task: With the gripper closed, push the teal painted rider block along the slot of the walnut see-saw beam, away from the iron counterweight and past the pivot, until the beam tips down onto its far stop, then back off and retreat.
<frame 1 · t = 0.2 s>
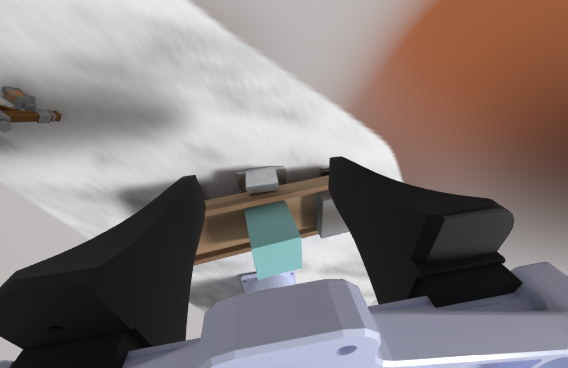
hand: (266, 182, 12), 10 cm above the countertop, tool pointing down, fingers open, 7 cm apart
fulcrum: (264, 199, 25), on the countertop
rider: (266, 219, 22), point 3 cm above the countertop, tilted 7°, touching beam
beam: (268, 219, 22), point 3 cm above the countertop, hinge at 7.0°, touching rider
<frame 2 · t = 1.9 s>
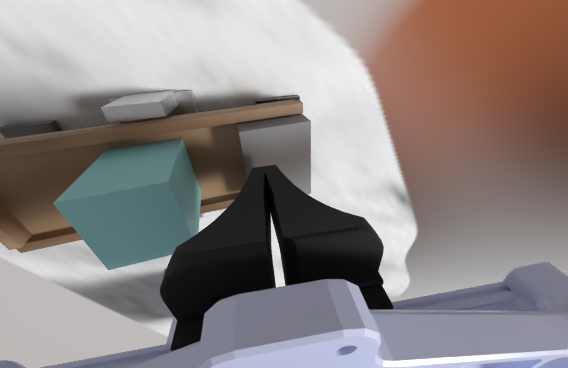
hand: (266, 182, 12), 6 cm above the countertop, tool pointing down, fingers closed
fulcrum: (174, 150, 16), on the countertop
rider: (159, 173, 14), point 3 cm above the countertop, tilted 7°, touching beam
beam: (162, 173, 14), point 3 cm above the countertop, hinge at 7.0°, touching rider
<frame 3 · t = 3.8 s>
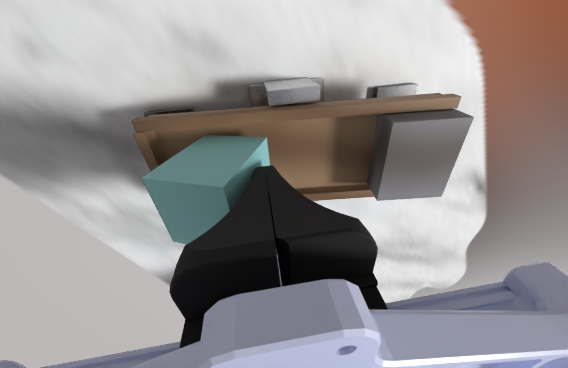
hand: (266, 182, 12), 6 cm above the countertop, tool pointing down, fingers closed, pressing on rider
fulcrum: (289, 137, 17), on the countertop
rider: (240, 165, 14), point 4 cm above the countertop, tilted 24°, touching beam, gripper
beam: (294, 156, 14), point 3 cm above the countertop, hinge at -7.4°, touching rider
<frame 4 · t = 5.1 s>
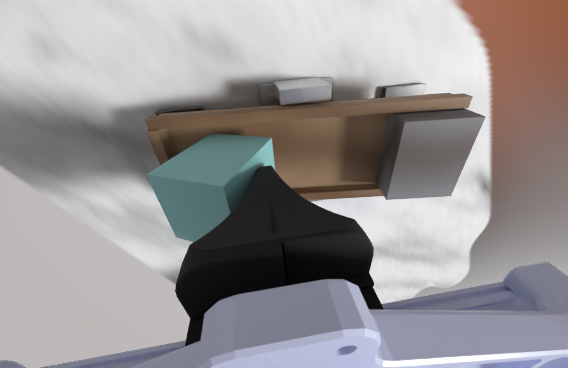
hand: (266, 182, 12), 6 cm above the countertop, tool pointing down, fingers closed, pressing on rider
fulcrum: (297, 136, 17), on the countertop
rider: (245, 165, 14), point 4 cm above the countertop, tilted 28°, touching beam, gripper
beam: (304, 155, 14), point 3 cm above the countertop, hinge at -7.9°, touching rider
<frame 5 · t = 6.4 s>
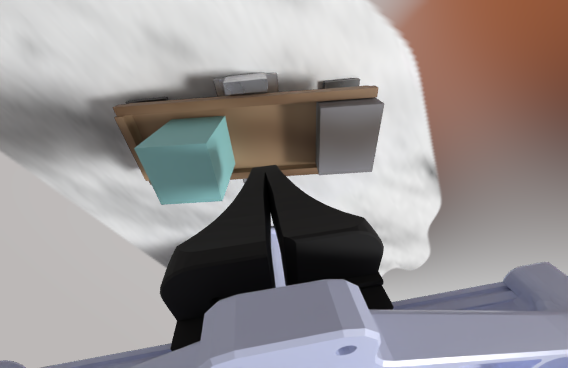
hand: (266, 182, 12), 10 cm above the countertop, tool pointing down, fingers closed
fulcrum: (252, 124, 20), on the countertop
rider: (205, 142, 17), point 3 cm above the countertop, tilted 7°, touching beam
beam: (251, 138, 17), point 3 cm above the countertop, hinge at -7.2°, touching rider
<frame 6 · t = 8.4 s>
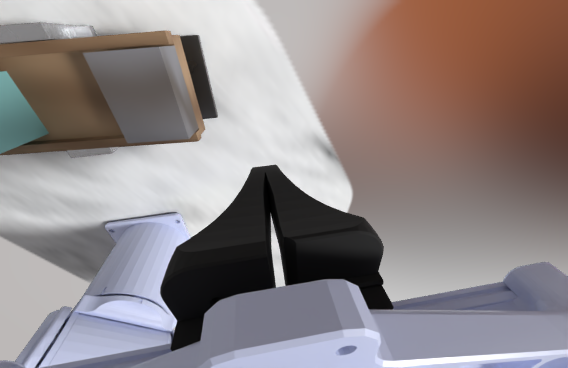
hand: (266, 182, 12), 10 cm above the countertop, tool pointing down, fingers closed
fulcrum: (86, 90, 17), on the countertop
rider: (0, 106, 15), point 3 cm above the countertop, tilted 7°, touching beam
beam: (52, 101, 14), point 3 cm above the countertop, hinge at -7.2°, touching rider
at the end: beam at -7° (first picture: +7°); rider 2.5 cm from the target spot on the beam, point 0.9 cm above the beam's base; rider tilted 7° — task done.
